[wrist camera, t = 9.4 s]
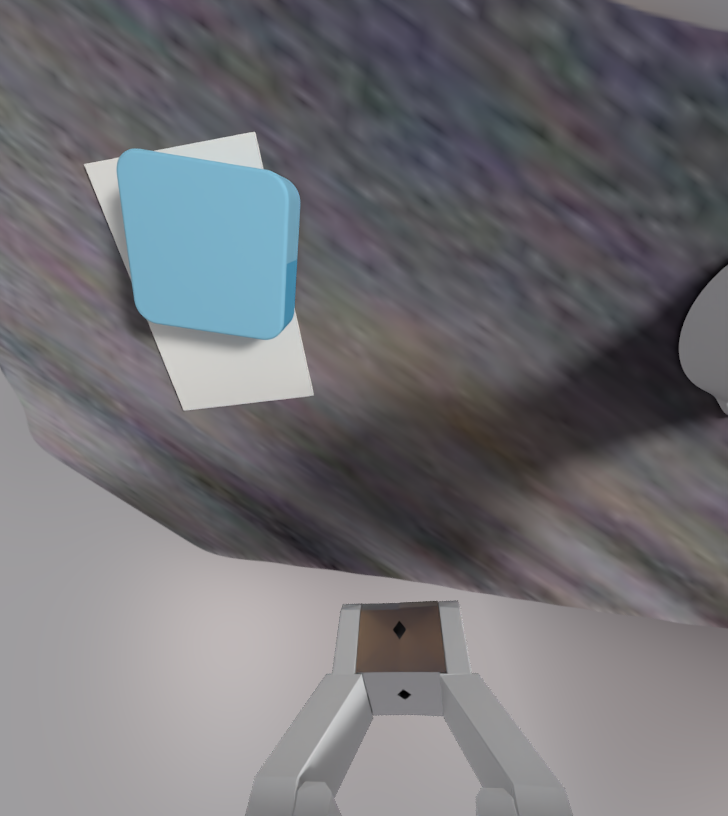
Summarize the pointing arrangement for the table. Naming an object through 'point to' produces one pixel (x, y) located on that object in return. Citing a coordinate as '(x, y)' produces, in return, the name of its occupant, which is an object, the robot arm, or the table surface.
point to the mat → (207, 351)
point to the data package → (210, 243)
